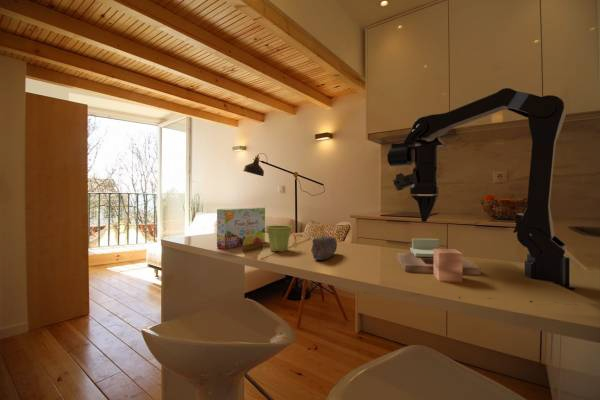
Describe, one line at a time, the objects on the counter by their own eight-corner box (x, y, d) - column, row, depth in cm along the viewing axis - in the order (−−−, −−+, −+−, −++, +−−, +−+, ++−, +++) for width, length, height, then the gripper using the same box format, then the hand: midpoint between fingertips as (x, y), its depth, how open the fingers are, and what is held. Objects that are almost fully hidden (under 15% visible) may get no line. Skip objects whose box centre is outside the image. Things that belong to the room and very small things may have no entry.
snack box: (225, 249, 105) (225, 209, 104) (216, 248, 108) (215, 208, 108) (266, 241, 121) (265, 206, 121) (256, 240, 125) (256, 206, 125)
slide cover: (440, 251, 81) (439, 239, 81) (448, 257, 73) (448, 243, 73) (410, 250, 82) (410, 238, 82) (415, 256, 75) (415, 243, 75)
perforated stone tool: (328, 252, 97) (328, 232, 97) (342, 254, 95) (342, 233, 95) (307, 261, 85) (306, 238, 84) (322, 263, 82) (322, 239, 82)
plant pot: (282, 246, 109) (281, 224, 109) (297, 250, 102) (297, 226, 101) (261, 250, 103) (260, 226, 103) (276, 254, 96) (275, 228, 95)
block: (455, 280, 63) (455, 249, 63) (462, 287, 58) (462, 253, 58) (433, 279, 64) (433, 248, 64) (438, 285, 59) (438, 252, 59)
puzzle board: (458, 265, 77) (458, 254, 77) (480, 281, 63) (480, 268, 63) (397, 263, 80) (397, 253, 80) (405, 277, 67) (405, 265, 67)
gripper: (400, 167, 91) (399, 216, 91) (390, 162, 74) (389, 222, 74) (439, 166, 85) (438, 217, 86) (437, 160, 69) (436, 224, 69)
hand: (425, 220), depth 79 cm, fingers open, 9 cm apart
